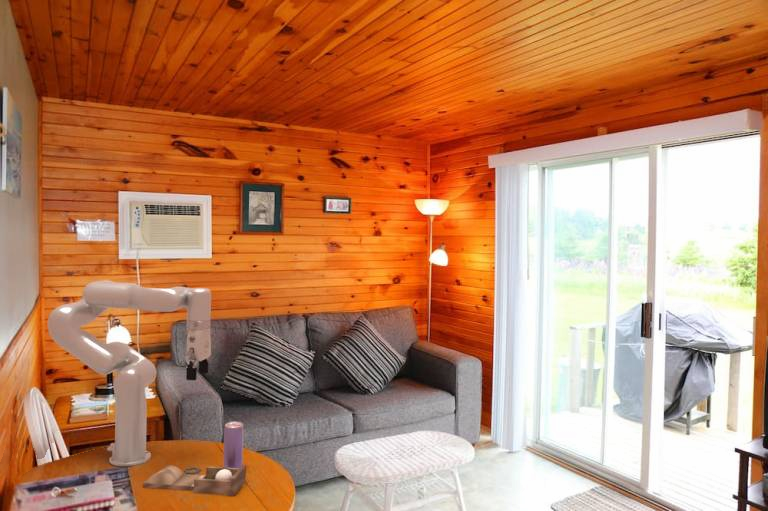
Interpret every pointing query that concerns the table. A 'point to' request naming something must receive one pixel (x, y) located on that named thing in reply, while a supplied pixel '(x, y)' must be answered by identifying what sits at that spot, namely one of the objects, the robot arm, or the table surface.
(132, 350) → the robot arm
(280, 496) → the table surface
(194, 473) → the grey piece
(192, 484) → the lane
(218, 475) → the ball
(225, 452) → the beverage can
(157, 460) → the table surface
